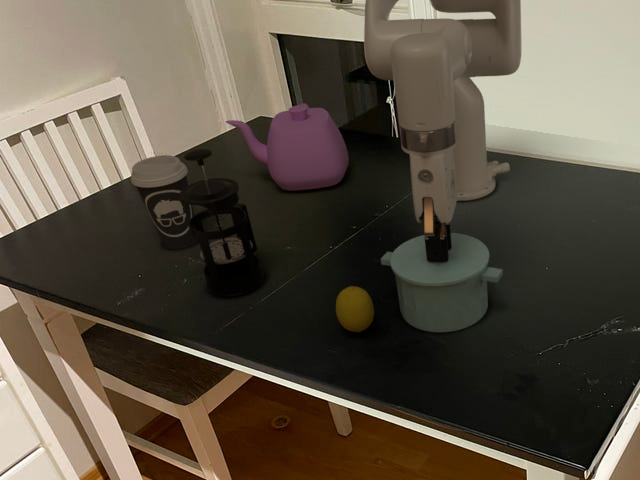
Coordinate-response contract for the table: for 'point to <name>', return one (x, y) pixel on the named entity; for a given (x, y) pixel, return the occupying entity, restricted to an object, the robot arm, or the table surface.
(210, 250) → the french press
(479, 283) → the pot
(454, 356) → the table surface
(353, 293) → the lemon
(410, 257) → the lid
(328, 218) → the table surface
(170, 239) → the coffee cup
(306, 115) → the teapot
